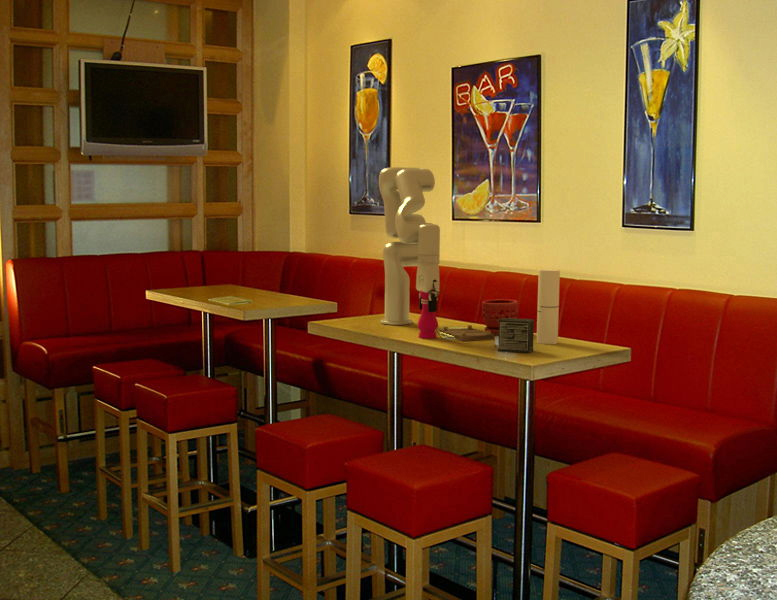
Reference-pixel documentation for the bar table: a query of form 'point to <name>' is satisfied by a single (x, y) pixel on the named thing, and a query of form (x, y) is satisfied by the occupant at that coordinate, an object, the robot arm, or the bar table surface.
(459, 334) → the serving board
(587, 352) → the bar table surface
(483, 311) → the plant pot
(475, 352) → the bar table surface
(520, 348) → the small box
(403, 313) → the robot arm
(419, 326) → the pepper mill
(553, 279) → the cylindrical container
